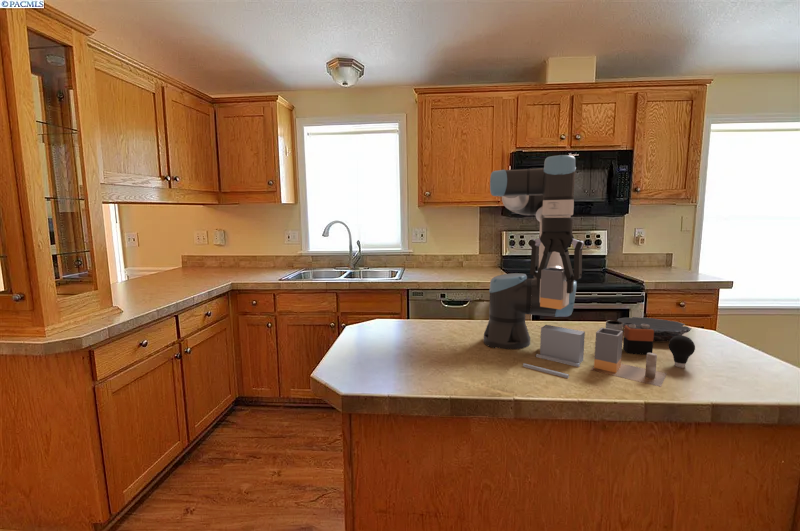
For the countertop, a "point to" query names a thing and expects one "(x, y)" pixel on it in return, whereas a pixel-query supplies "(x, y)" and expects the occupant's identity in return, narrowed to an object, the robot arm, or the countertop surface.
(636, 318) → the board
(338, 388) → the countertop surface
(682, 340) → the light bulb
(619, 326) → the planter
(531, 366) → the feeder
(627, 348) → the battery
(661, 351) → the countertop surface
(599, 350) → the seated sleeve
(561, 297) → the sleeve
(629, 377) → the pinboard
